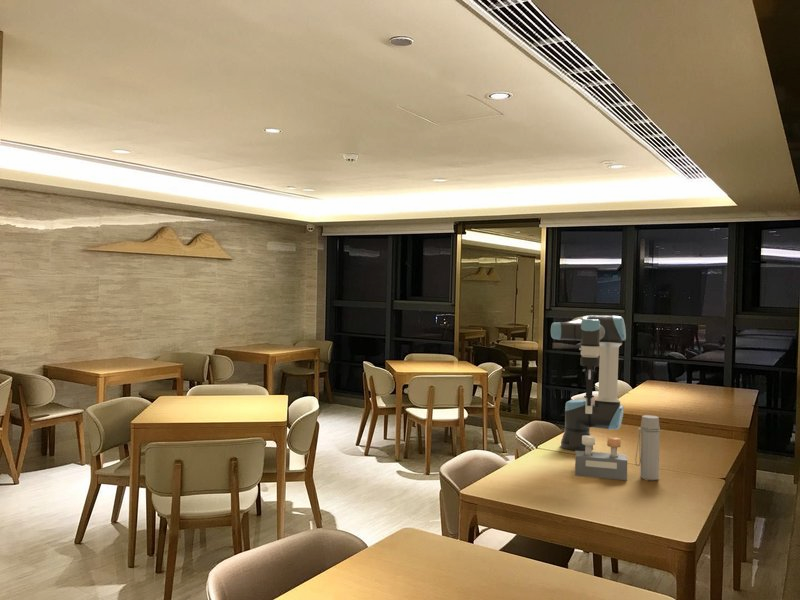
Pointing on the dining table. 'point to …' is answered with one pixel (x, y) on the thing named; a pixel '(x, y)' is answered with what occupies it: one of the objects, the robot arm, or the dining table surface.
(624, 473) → the console
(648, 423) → the water bottle
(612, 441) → the knob
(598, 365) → the robot arm
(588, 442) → the knob
